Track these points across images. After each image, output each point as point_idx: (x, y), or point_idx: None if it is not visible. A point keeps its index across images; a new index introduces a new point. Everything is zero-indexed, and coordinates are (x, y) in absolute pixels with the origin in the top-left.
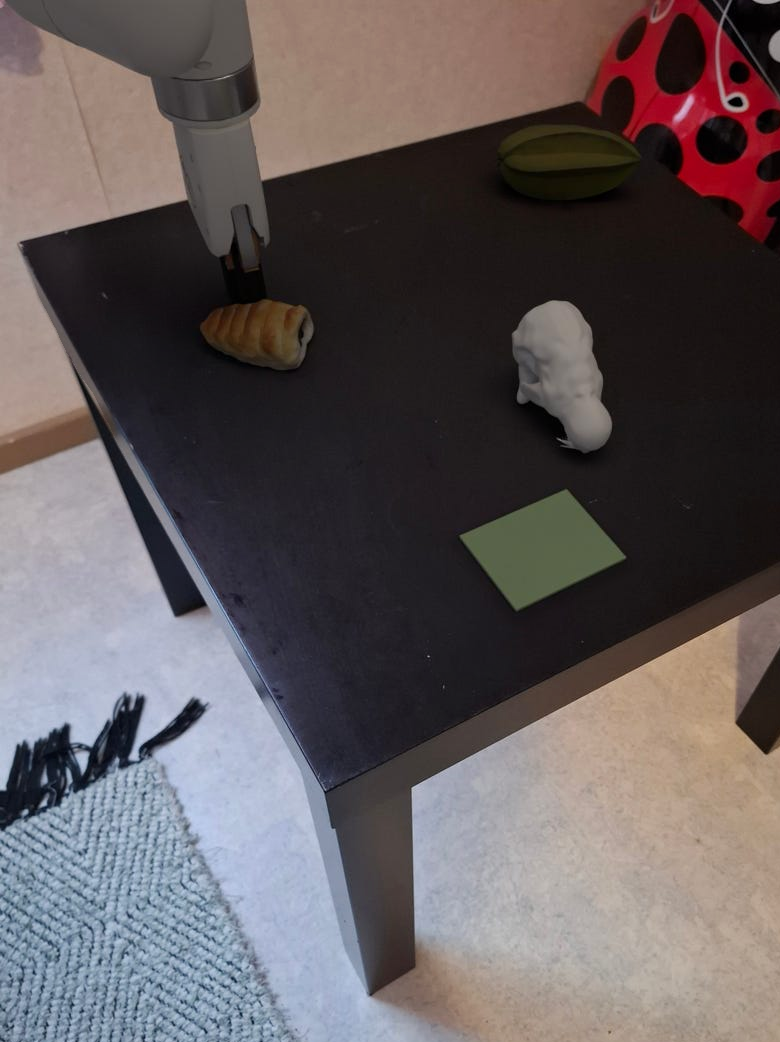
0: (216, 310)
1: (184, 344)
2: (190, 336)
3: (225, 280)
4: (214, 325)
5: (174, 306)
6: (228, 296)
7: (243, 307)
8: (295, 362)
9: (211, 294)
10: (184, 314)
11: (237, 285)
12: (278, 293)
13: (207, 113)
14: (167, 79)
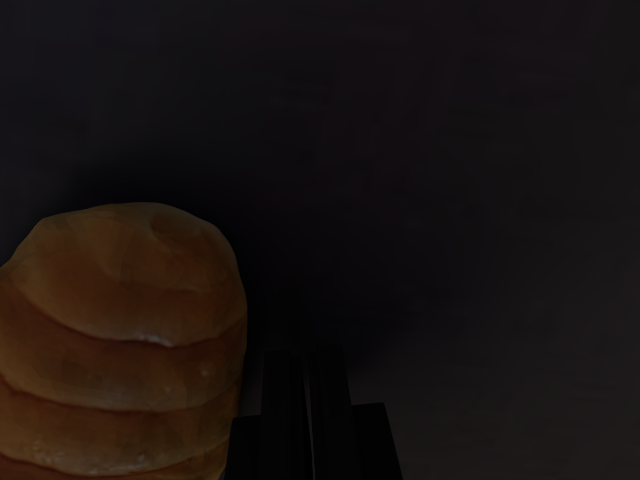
0: (192, 309)
1: (148, 93)
2: (203, 128)
3: (325, 410)
4: (45, 296)
5: (436, 88)
6: (317, 350)
7: (110, 447)
8: None
9: (459, 245)
10: (365, 124)
11: (255, 458)
12: None
13: None
14: None
